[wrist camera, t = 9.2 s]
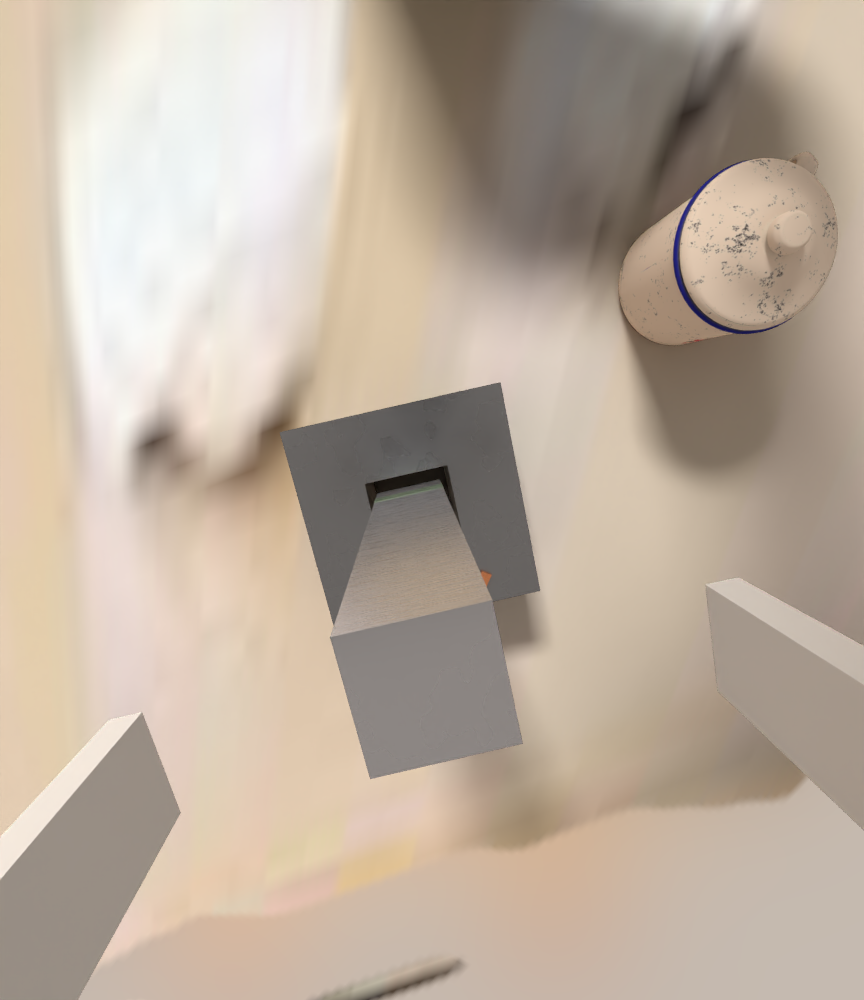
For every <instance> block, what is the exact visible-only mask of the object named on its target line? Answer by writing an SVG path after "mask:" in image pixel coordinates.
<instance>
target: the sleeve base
mask: <svg viewBox="0 0 864 1000" xmlns="http://www.w3.org/2000/svg"><path fill="white" fill-rule="evenodd" d="M280 435H281V439H282V442H283V446H284V449H285V453H286V457H287V460H288V464H289V467H290V471H291V474H292V478H293V482H294V485H295V489H296V492H297V496H298V499H299V503H300V507H301V510H302V514H303V517H304V521H305V524H306V528H307V532H308V535H309V539H310V542H311V546H312V549H313V553H314V557H315V560H316V564H317V567H318V571H319V575H320V578H321V582H322V585H323V589H324V592H325V596H326V600H327V603H328V607H329V610H330V614H331V617H332V621H333V625H334V624H335V621H336V618H337V615H338V612H339V609H340V606H341V603H342V600H343V597H344V594H345V591H346V588H347V585H348V582H349V579H350V575H351V572H352V569H353V566H354V563H355V560H356V557H357V554H358V551H359V548H360V545H361V542H362V539H363V536H364V533H365V530H366V527H367V524H368V521H369V518H370V515H371V512H372V508H373V505H374V501H375V499H376V496H377V494H376V490H375V485H374V482H375V481H380V480H384V479H388V478H393V477H397V476H402V475H406V474H410V473H415V472H419V471H424V470H428V469H432V468H437V467H441V466H443V467H444V471H445V476H446V480H447V485H448V489H449V494H450V499H451V503H452V508H453V511H454V514H455V516H456V518H457V520H458V523H459V525H460V527H461V530H462V532H463V534H464V536H465V539H466V541H467V543H468V546H469V548H470V550H471V552H472V555H473V557H474V559H475V561H476V564H477V566H478V568H479V571H480V573H481V575H482V577H483V580H484V582H485V584H486V587H487V589H488V591H489V593H490V596H491V598H492V601H497V600H502V599H506V598H511V597H515V596H519V595H524V594H528V593H532V592H537V591H540V588H539V582H538V577H537V572H536V567H535V561H534V556H533V551H532V546H531V540H530V535H529V530H528V525H527V519H526V514H525V509H524V504H523V498H522V493H521V488H520V483H519V477H518V472H517V467H516V462H515V457H514V451H513V446H512V441H511V436H510V430H509V425H508V420H507V415H506V409H505V404H504V399H503V394H502V388H501V383H495V384H491V385H487V386H482V387H478V388H473V389H469V390H465V391H460V392H456V393H451V394H447V395H442V396H438V397H434V398H429V399H425V400H420V401H416V402H412V403H407V404H403V405H398V406H394V407H390V408H385V409H381V410H376V411H372V412H368V413H363V414H359V415H354V416H350V417H345V418H341V419H337V420H332V421H328V422H323V423H319V424H315V425H310V426H306V427H301V428H297V429H293V430H288V431H284V432H280Z"/></svg>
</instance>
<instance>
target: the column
mask: <svg viewBox="0 0 864 1000" xmlns="http://www.w3.org/2000/svg"><path fill="white" fill-rule="evenodd" d="M330 638H331V642H332V645H333V649H334V653H335V656H336V660H337V663H338V667H339V670H340V674H341V677H342V681H343V684H344V688H345V691H346V695H347V699H348V702H349V706H350V709H351V713H352V716H353V720H354V723H355V727H356V730H357V734H358V737H359V741H360V744H361V748H362V752H363V755H364V759H365V762H366V766H367V769H368V773H369V776H370V779H372V778H377V777H381V776H385V775H390V774H394V773H398V772H402V771H407V770H411V769H415V768H420V767H424V766H428V765H433V764H437V763H441V762H446V761H450V760H454V759H459V758H463V757H467V756H471V755H476V754H480V753H484V752H489V751H493V750H497V749H502V748H506V747H510V746H515V745H519V744H523V743H522V738H521V733H520V728H519V724H518V719H517V714H516V710H515V705H514V700H513V695H512V691H511V686H510V681H509V676H508V672H507V667H506V662H505V657H504V653H503V648H502V643H501V639H500V634H499V629H498V624H497V620H496V615H495V610H494V605H493V601H492V598H491V596H490V593H489V591H488V589H487V587H486V584H485V582H484V580H483V577H482V575H481V573H480V571H479V568H478V566H477V564H476V561H475V559H474V557H473V555H472V552H471V550H470V548H469V546H468V543H467V541H466V539H465V536H464V534H463V532H462V530H461V527H460V525H459V523H458V520H457V518H456V516H455V514H454V511H453V509H452V507H451V504H450V502H449V500H448V498H447V495H446V493H445V491H444V488H443V485H442V484H441V482H440V479H438V480H434V481H429V482H425V483H421V484H416V485H412V486H407V487H403V488H399V489H394V490H390V491H386V492H381V493H377V496H376V499H375V501H374V505H373V508H372V512H371V515H370V518H369V521H368V524H367V527H366V530H365V533H364V536H363V539H362V542H361V545H360V548H359V551H358V554H357V557H356V560H355V563H354V566H353V569H352V572H351V575H350V579H349V582H348V585H347V588H346V591H345V594H344V597H343V600H342V603H341V606H340V609H339V612H338V615H337V618H336V621H335V624H334V627H333V630H332V633H331V636H330Z"/></svg>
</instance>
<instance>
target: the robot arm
mask: <svg viewBox="0 0 864 1000" xmlns="http://www.w3.org/2000/svg"><path fill="white" fill-rule="evenodd" d="M705 587H706V595H707V604H708V613H709V621H710V630H711V639H712V647H713V656H714V665H715V673H716V682H717V691H718V692H719V693H720V694H721V695H722V696H723V697H724V698H725V699H726V700H727V701H729V702H730V703H731V704H732V705H733V706H734V707H735V708H736V709H737V710H738V711H739V712H740V713H741V714H742V715H743V716H744V717H745V718H746V719H747V720H748V721H749V722H751V723H752V724H753V725H754V726H755V727H756V728H757V729H758V730H759V731H760V732H761V733H762V734H763V735H764V736H765V737H766V738H767V739H768V740H769V741H770V742H772V743H773V744H774V745H775V746H776V747H777V748H778V749H779V750H780V751H781V752H782V753H783V754H784V755H785V756H786V757H787V758H788V759H789V760H790V761H791V762H793V763H794V764H795V765H796V766H797V767H798V768H799V769H800V770H801V771H802V772H803V773H804V774H805V775H806V776H807V777H808V778H809V779H810V780H811V781H812V782H814V783H815V784H816V785H817V786H818V787H819V788H820V789H821V790H822V791H823V792H824V793H825V794H826V795H827V796H828V797H829V798H830V799H832V801H833V802H835V803H836V804H837V805H838V806H839V807H840V808H841V809H842V810H843V811H844V812H845V813H846V814H847V815H848V816H849V817H850V818H851V819H852V820H853V821H855V822H856V823H857V824H858V825H859V826H860V827H861V828H862V829H863V830H864V646H863V645H861V644H860V643H858V642H856V641H854V640H852V639H850V638H849V637H847V636H845V635H843V634H841V633H839V632H838V631H836V630H834V629H832V628H830V627H828V626H827V625H825V624H823V623H821V622H819V621H817V620H816V619H814V618H812V617H810V616H808V615H806V614H805V613H803V612H801V611H799V610H797V609H796V608H794V607H792V606H790V605H788V604H786V603H785V602H783V601H781V600H779V599H777V598H775V597H774V596H772V595H770V594H768V593H766V592H764V591H763V590H761V589H759V588H757V587H755V586H753V585H752V584H750V583H748V582H746V581H744V580H742V579H741V578H739V577H737V578H732V579H728V580H723V581H719V582H714V583H710V584H706V585H705ZM180 813H181V812H180V810H179V807H178V804H177V802H176V799H175V797H174V794H173V791H172V789H171V786H170V784H169V781H168V778H167V776H166V773H165V771H164V768H163V765H162V763H161V760H160V758H159V755H158V752H157V750H156V747H155V745H154V742H153V739H152V737H151V734H150V732H149V729H148V726H147V724H146V721H145V718H144V716H143V713H142V712H141V713H136V714H132V715H127V716H123V717H118V718H114V719H110V720H108V721H107V723H106V724H105V725H104V726H103V727H102V728H101V729H100V730H99V731H98V732H97V733H96V734H95V735H94V737H93V738H92V739H91V740H90V741H89V742H88V743H87V744H86V745H85V746H84V747H83V748H82V749H81V750H80V752H79V753H78V754H77V755H76V756H75V757H74V758H73V759H72V760H71V761H70V762H69V763H68V764H67V766H66V767H65V768H64V769H63V770H62V771H61V772H60V773H59V774H58V775H57V776H56V777H55V778H54V780H53V781H52V782H51V783H50V784H49V785H48V786H47V787H46V788H45V789H44V790H43V791H42V792H41V794H40V795H39V796H38V797H37V798H36V799H35V800H34V801H33V802H32V803H31V804H30V805H29V806H28V808H27V809H26V810H25V811H24V812H23V813H22V814H21V815H20V816H19V817H18V818H17V819H16V820H15V821H14V823H13V824H12V825H11V826H10V827H9V828H8V829H7V830H6V831H5V832H4V833H3V834H2V835H1V837H0V1000H78V998H79V997H80V995H81V993H82V991H83V989H84V987H85V986H86V984H87V982H88V980H89V978H90V977H91V975H92V973H93V971H94V969H95V968H96V966H97V964H98V962H99V960H100V958H101V957H102V955H103V953H104V951H105V949H106V948H107V946H108V944H109V942H110V940H111V938H112V937H113V935H114V933H115V931H116V929H117V928H118V926H119V924H120V922H121V920H122V918H123V917H124V915H125V913H126V911H127V909H128V907H129V906H130V904H131V902H132V900H133V898H134V897H135V895H136V893H137V891H138V889H139V887H140V886H141V884H142V882H143V880H144V878H145V877H146V875H147V873H148V871H149V869H150V867H151V866H152V864H153V862H154V860H155V858H156V857H157V855H158V853H159V851H160V849H161V847H162V846H163V844H164V842H165V840H166V838H167V837H168V835H169V833H170V831H171V829H172V827H173V826H174V824H175V822H176V820H177V818H178V816H179V815H180Z"/></svg>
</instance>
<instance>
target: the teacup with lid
mask: <svg viewBox="0 0 864 1000" xmlns="http://www.w3.org/2000/svg"><path fill="white" fill-rule="evenodd" d="M817 168H818V161H817V159H816V158H815V157H814V156H813V155H812V154H811V153H809V152H803V153H800V154H798V155H796V156H794V157H792V158H791V159H789V160H788V161H786V160H782V159H775V158H758V159H752V160H746V161H742V162H739V163H736V164H734V165H731V166H729V167H727V168H725V169H723V170H721V171H720V172H718V173H717V174H715V175H714V176H713V177H711V178H710V179H709V180H708V181H707V182H706V183H705V184H703V185H702V186H701V187H700V189H699V190H698V191H697V192H696V193H695V194H694V196H693V197H691V198H690V199H689V200H687V201H686V202H684V203H683V204H682V205H680V206H679V207H678V208H676V209H675V210H673V211H672V212H671V213H669V214H668V215H667V216H665V217H664V218H662V219H661V220H660V221H658V222H657V223H656V224H654V225H653V226H651V227H650V228H649V229H647V230H646V231H645V232H644V233H643V234H641V235H640V236H639V237H638V239H637V240H636V241H635V242H634V243H633V245H632V246H631V248H630V249H629V251H628V253H627V255H626V257H625V259H624V261H623V264H622V267H621V271H620V277H619V297H620V302H621V306H622V309H623V311H624V314H625V316H626V318H627V319H628V321H629V322H630V324H631V325H632V326H633V327H634V329H635V330H636V331H637V332H638V333H640V334H641V335H642V336H644V337H645V338H647V339H649V340H651V341H653V342H656V343H659V344H664V345H682V344H687V343H692V342H697V341H701V340H706V339H711V338H715V337H720V336H724V335H729V334H734V333H736V334H752V333H758V332H763V331H766V330H770V329H772V328H775V327H777V326H779V325H781V324H783V323H785V322H786V321H788V320H789V319H791V318H792V317H794V316H795V315H796V314H797V313H799V312H800V311H801V310H802V309H803V308H805V307H806V306H807V305H808V304H809V303H810V302H811V300H812V299H813V298H814V297H815V296H816V294H817V293H818V292H819V290H820V289H821V287H822V286H823V284H824V282H825V280H826V278H827V277H828V274H829V272H830V270H831V267H832V264H833V261H834V258H835V253H836V248H837V238H838V229H837V219H836V214H835V210H834V207H833V204H832V202H831V199H830V197H829V195H828V193H827V191H826V190H825V188H824V187H823V185H822V184H821V183H820V182H819V181H818V179H817V178H816V177H815V176H814V175H815V173H816V171H817Z"/></svg>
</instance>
